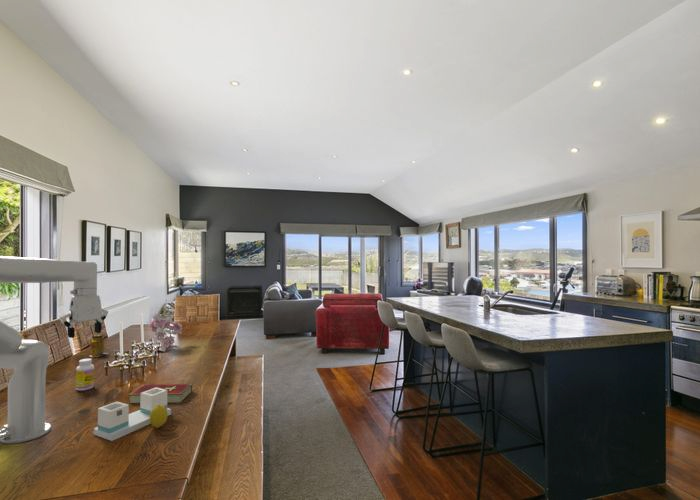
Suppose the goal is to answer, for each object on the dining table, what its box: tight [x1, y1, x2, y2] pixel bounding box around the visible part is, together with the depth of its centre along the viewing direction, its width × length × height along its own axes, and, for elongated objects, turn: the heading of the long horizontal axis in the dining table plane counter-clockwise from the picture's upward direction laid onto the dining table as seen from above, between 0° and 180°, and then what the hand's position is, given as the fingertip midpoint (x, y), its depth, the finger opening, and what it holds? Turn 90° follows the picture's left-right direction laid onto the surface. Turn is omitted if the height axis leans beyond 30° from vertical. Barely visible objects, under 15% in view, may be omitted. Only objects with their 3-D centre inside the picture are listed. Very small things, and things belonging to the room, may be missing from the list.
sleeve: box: [97, 401, 130, 433], centre depth 123 cm, size 7×6×7 cm
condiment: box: [89, 334, 110, 358], centre depth 218 cm, size 7×8×12 cm
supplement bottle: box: [75, 358, 95, 392], centre depth 164 cm, size 7×7×13 cm
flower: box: [147, 312, 183, 353], centre depth 232 cm, size 20×22×25 cm
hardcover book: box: [127, 383, 193, 404], centre depth 154 cm, size 12×21×4 cm, turn 93°
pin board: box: [93, 407, 172, 442], centre depth 130 cm, size 22×10×7 cm, turn 154°
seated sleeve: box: [139, 387, 168, 415], centre depth 137 cm, size 6×6×7 cm
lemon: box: [150, 405, 168, 429], centre depth 127 cm, size 6×6×8 cm
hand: (84, 334), depth 146 cm, fingers open, 9 cm apart
